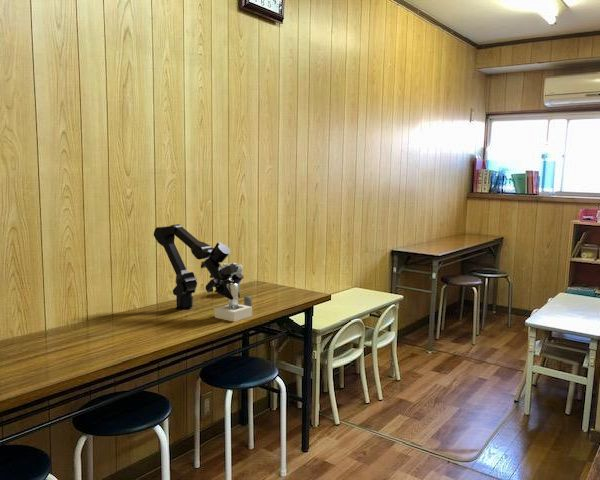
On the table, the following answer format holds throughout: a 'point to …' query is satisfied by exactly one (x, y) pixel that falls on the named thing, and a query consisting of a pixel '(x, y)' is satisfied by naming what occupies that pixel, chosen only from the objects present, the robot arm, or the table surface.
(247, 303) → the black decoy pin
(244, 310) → the socket block
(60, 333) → the table surface
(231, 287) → the steel pin
